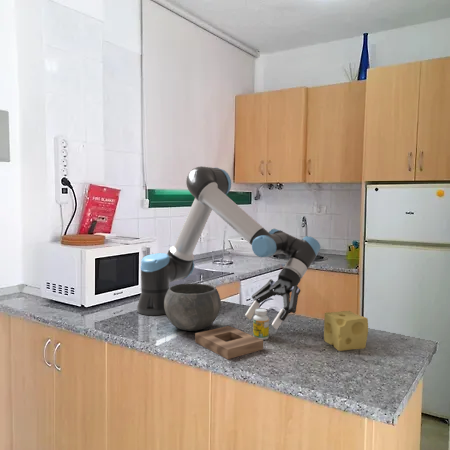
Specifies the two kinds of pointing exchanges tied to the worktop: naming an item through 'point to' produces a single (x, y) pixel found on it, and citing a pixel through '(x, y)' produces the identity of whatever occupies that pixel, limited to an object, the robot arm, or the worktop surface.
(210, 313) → the bowl
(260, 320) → the supplement bottle
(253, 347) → the well board
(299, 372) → the worktop surface
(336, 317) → the cheese
